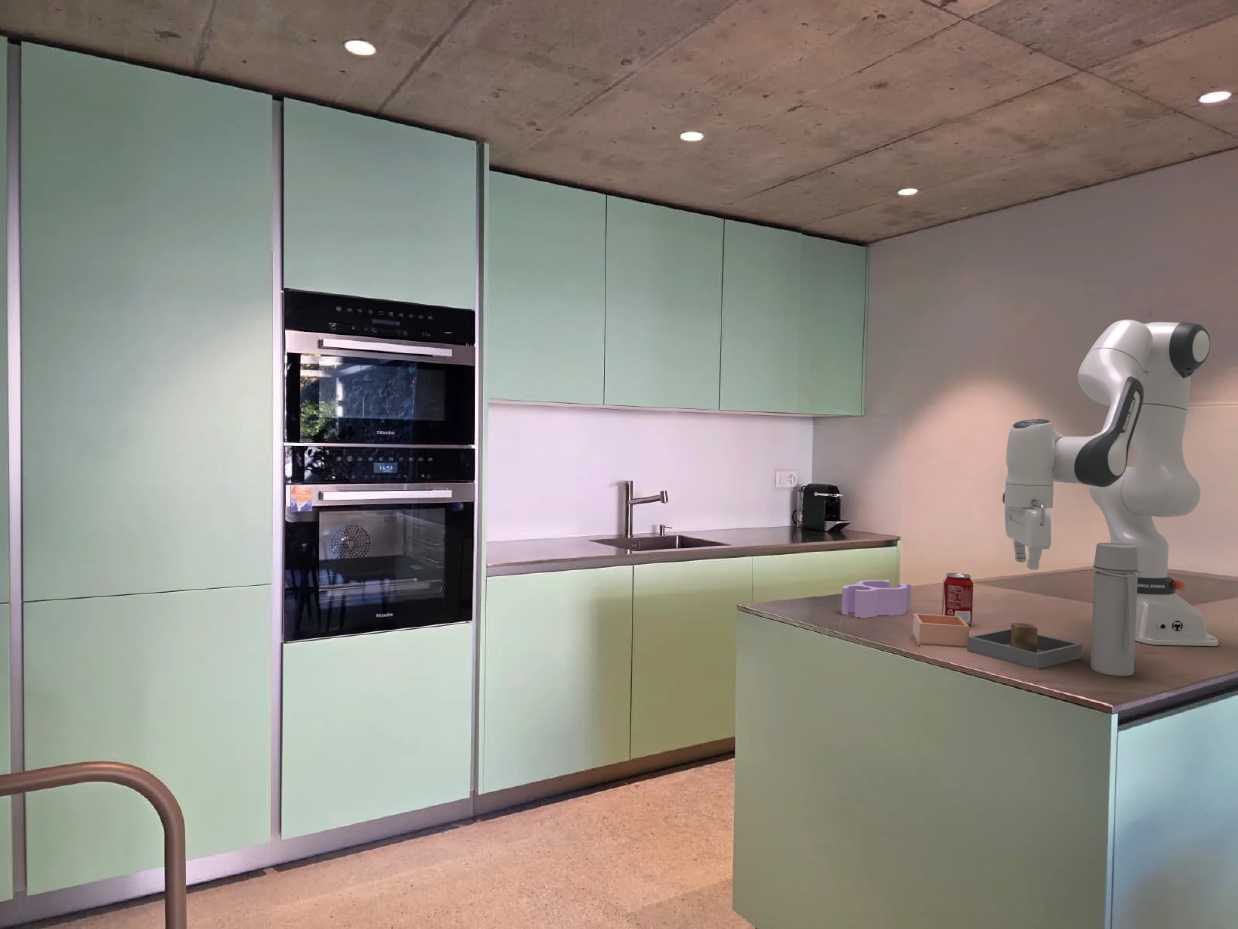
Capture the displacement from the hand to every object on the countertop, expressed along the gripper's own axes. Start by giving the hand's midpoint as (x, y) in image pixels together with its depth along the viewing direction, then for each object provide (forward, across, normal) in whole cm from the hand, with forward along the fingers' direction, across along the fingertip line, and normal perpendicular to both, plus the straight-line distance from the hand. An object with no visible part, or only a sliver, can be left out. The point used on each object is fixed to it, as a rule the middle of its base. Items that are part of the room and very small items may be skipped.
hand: (1026, 565), depth 166 cm
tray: (+19, 0, 0) cm, 19 cm away
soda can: (+19, +28, +8) cm, 35 cm away
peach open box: (+19, +8, +15) cm, 26 cm away
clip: (+20, +37, +26) cm, 49 cm away
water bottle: (+19, -9, -14) cm, 26 cm away
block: (+18, 0, 0) cm, 19 cm away
